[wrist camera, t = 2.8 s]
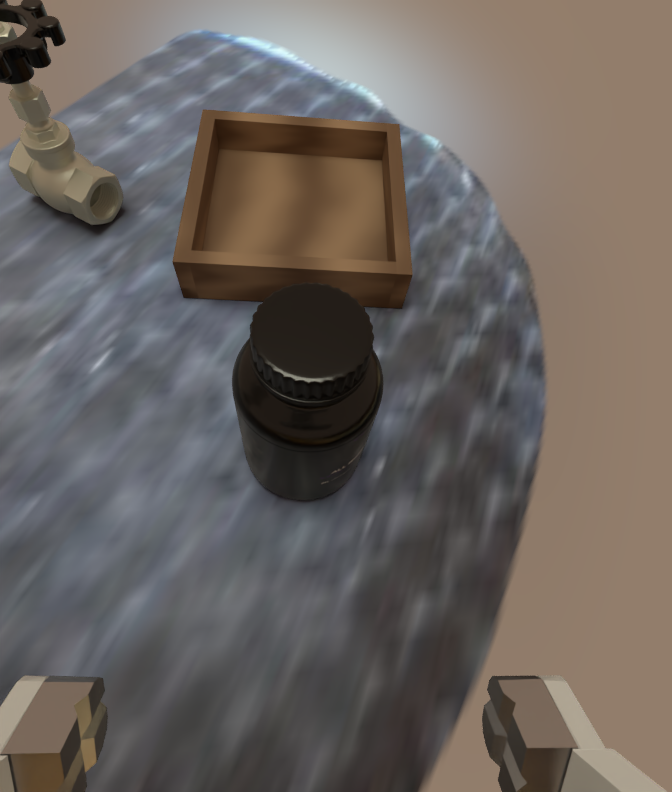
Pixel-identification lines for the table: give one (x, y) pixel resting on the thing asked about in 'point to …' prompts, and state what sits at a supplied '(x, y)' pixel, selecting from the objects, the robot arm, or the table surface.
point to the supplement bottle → (307, 390)
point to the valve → (48, 124)
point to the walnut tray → (294, 209)
